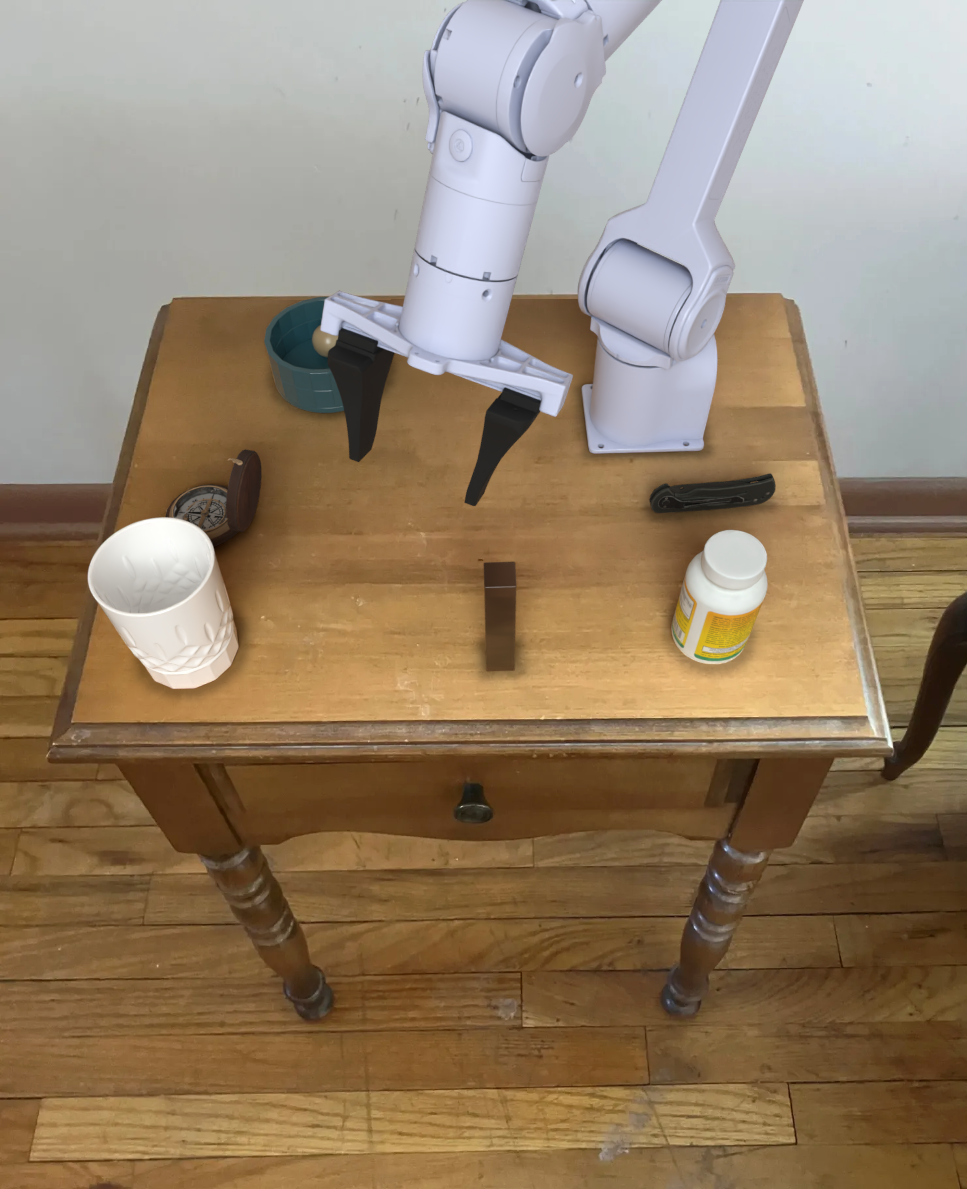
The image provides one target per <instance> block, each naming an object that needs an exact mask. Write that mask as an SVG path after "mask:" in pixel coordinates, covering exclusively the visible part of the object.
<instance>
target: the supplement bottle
mask: <svg viewBox="0 0 967 1189" xmlns="http://www.w3.org/2000/svg"><path fill="white" fill-rule="evenodd" d="M767 562H768V554H767V551H766V548H765V546H764V544H763V543H762V542H761V540H759V539H758V538H757V537H756V536H754V535H752V534H750V533H748V532H746V531H743V530H737V529H725V530H721V531H718V532H715V533H714V534H713V535H711V536H710V537H709V538H708V540H706V542H705V544H704V547H703V550H702V551H700V552H698V553H697V554H696V555H695V556H694V557H693V558H692V559H691V561H690V562H689V563H688V566H687V567H686V571H685V574H684V578H683V582H682V585H681V589H680V592H679V596H678V600H677V603H676V607H675V610H674V613H673V617H672V621H671V627H670V629H671V635H672V639H673V642H674V645H675V646H676V647H677V649H678V650H679V651H680V652H681V653H682V654H683V655H684V656H685V657H687V658H689V659H690V660H693V661H695V662H697V663H700V664H704V665H705V664H706V665H722V664H726V663H729V662H731V661H733V660H735V659H736V658H737V657H738V656H740V655H741V653H742V652H743V651H744V649H745V647H746V645H747V643H748V640H749V638H750V636H751V633H752V631H753V628H754V625H755V623H756V620H757V618H758V615H759V613H760V611H761V607H762V605H763V603H764V600H765V597H766V595H767V593H768V585H769V584H768V582H769V581H768V577H767V576H768V575H767V573H766V571H765V569H766V566H767Z"/></svg>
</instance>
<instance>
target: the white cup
mask: <svg viewBox="0 0 967 1189" xmlns="http://www.w3.org/2000/svg"><path fill="white" fill-rule="evenodd" d="M87 583H88V588H89V590H90V593H91V595H92V596H93V598H94V599H95V601H96V603H97V604H98V605H99V607H100V608H101V610H102V611H103V613H104V614H105V616H106V617H107V619H108V620H109V622H110V623H111V625H112V626H113V627H114V629H115V630H116V632H117V634H118V635H119V636H120V638H121V639H122V641H123V642H124V644H125V645H126V646H127V648H128V649H129V650H130V652H131V653H132V654H133V656H134V657H135V658H136V659H138V660H139V661H140V663H141V665H143V667H144V668H145V670H146V671H147V672H148V674H149V675H150V677H151V678H152V679H153V681H154V682H156V683H158V684H161V685H163V686H165V687H168V688H170V689H172V690H180V689H181V690H183V689H184V690H185V689H196V688H199V687H202V686H204V685H206V684H209V683H211V682H213V681H214V682H215V681H216V680H217V679H218V678H219V677H221V676H222V674H224V673H225V672H226V671H227V670H228V669H229V668H230V667H231V666H232V665H233V662H234V659H235V657H236V654H237V653H238V650H239V639H238V629H237V626H236V623H235V620H234V612H233V609H232V605H231V602H230V598H229V593H228V591H227V588H226V584H225V581H224V577H223V574H222V571H221V568H220V565H219V562H218V558H217V555H216V552H215V548H214V546H213V545H212V542H211V540H210V539H209V537H208V536H207V534H206V533H205V532H204V531H203V530H202V529H200V528H199V527H198V526H196V525H194V524H192V523H190V522H188V521H185V520H182V519H177V518H169V517H165V516H164V517H163V516H161V517H152V518H146V519H142V520H138V521H135V522H133V523H130V524H128V525H126V526H124V527H122V528H120V529H119V530H117V531H115V532H114V533H113V534H111V535H110V536H108V538H106V540H104V542H102V543H101V545H100V546H99V547H98V548H97V549H96V551H95V552H94V554H93V556H92V558H91V560H90V563H89V566H88V570H87Z"/></svg>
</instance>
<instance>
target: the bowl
mask: <svg viewBox="0 0 967 1189" xmlns="http://www.w3.org/2000/svg"><path fill="white" fill-rule="evenodd" d="M328 297H329V296H316V297H312V298H307V299H303V300H300V301H298V302H295V303H294V304H293V303H292V304H291V305H288V306H287V307H285V308H283V309H282V310H281V311H279V312H278V313H277V314H276V315H275V316H274V317H272V319H271V321H270V322H269V324H268V325H267V326H266V328H265V334H264V341H263V343H264V347H265V351H266V355H267V359H268V364H269V367H270V371H271V372H270V373H271V376H272V379H273V382H274V386H275V388H276V391H277V392H278V394H279V396H280V397H281V398H282V399H283V400H284V401H285V402H287V403H288V404H290V405H291V406H292V407H295V408H297V409H299V410H302V411H306V412H311V413H316V414H317V413H318V414H333V413H340V412H344V408H343V403H342V400H341V396H340V393H339V390H338V387H337V384H336V382H335V379H334V377H333V374H332V372H331V370H330V368H329V366H328V358H327V357H323V356H321V355H320V354H318V353H317V352H316V350H315V349H314V347H313V344H312V336H313V333H314V331H315V329H316V328H317V327H318V326H319V325H321V322H322V315H323V308H324V301H325V299H326V298H328Z"/></svg>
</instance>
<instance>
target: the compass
mask: <svg viewBox="0 0 967 1189" xmlns="http://www.w3.org/2000/svg"><path fill="white" fill-rule="evenodd" d="M229 461H232V463H233V466H232V469H231V472H230V476H229V479H228V484H227V486H225V485H223V484H213V483H209V484H200V485H197V486H194V487H191V488H188V489H187V490H185V491H183V492H181V493H179V495H178V496H176V497H175V498H174V499H173V500H172V501H171V503H170V504H169V506H168V507H167V508H166V510H165V516H164V517H169V518H177V519H182V520H185V521H188V522H190V523H192V524H194V525H196V526H198V527H199V528H200V529H202V530H203V531H204V532H205V533H206V534H207V536H208V537H209V539H210V540H211V542H212V545H213V547H216V546H219V545H222V544H224V543H226V542H228V541H229V540H231V539H233V538H234V537H235V536H236V535H237V534H238V532H241V533H243V532H244V531H246V530H247V529H248V528H249V526H250V525H251V524H252V521H253V519H254V517H255V516H256V511H257V508H258V504H259V500H260V495H261V487H262V477H263V475H262V468H263V467H262V461H261V458H260V456H259V453H258V452H257V451H255V450H251V449H242V450H241V451H240V452H239V453H238V454H237V457H236V458H228V459H227V462H229Z"/></svg>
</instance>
